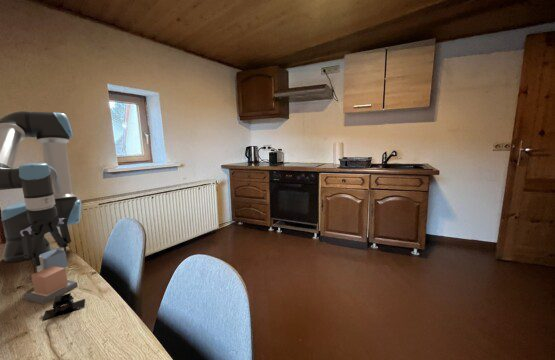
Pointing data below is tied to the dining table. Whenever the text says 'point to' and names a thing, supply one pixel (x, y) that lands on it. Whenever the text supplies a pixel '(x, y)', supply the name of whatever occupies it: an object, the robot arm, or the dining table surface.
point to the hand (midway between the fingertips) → (52, 267)
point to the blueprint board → (45, 298)
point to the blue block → (54, 259)
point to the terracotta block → (49, 280)
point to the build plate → (66, 308)
